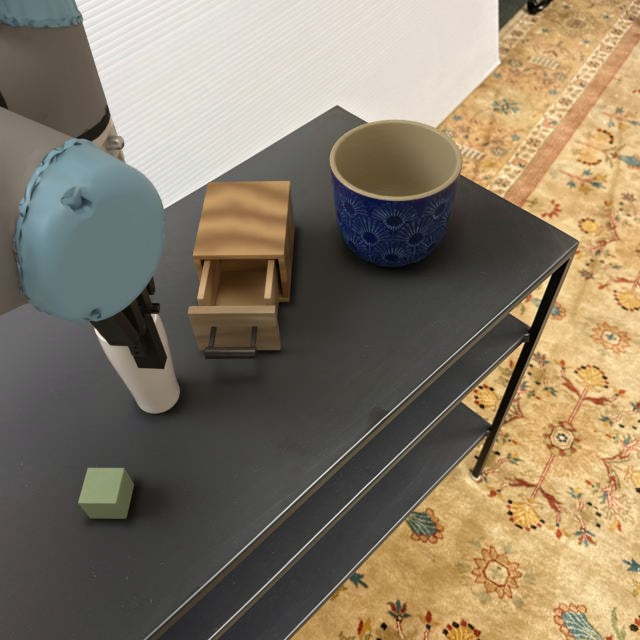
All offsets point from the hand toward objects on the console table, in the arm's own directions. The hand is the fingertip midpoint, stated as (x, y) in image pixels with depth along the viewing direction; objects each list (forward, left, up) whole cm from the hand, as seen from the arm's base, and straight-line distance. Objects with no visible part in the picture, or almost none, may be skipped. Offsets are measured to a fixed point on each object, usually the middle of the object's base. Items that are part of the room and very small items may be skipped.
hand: (152, 362), depth 66 cm
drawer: (+6, +15, -12) cm, 21 cm away
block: (-6, -9, -13) cm, 17 cm away
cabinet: (+6, +27, -13) cm, 31 cm away
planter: (+26, +31, -13) cm, 43 cm away
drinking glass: (-3, +4, -13) cm, 14 cm away
